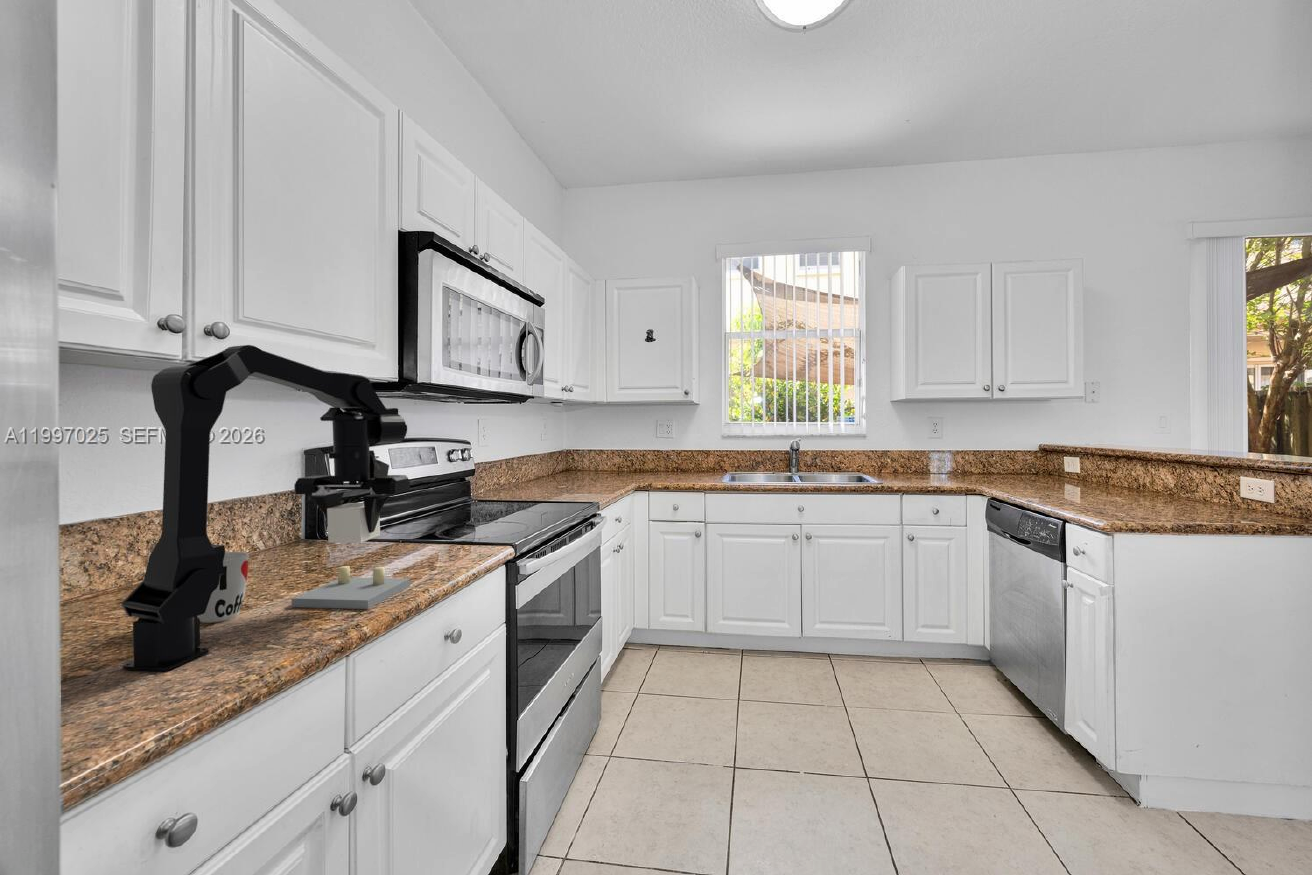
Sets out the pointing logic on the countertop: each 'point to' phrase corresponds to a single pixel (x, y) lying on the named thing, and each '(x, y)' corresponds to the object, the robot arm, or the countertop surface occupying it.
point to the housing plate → (352, 591)
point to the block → (349, 524)
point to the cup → (228, 589)
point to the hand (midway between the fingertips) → (354, 532)
